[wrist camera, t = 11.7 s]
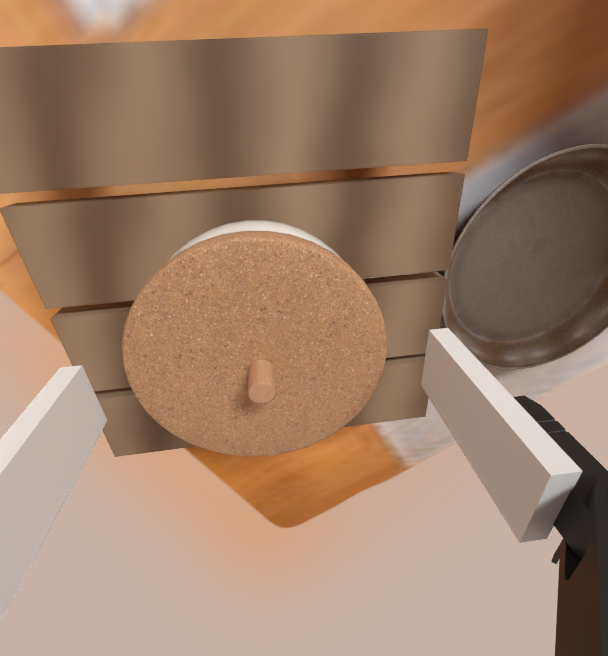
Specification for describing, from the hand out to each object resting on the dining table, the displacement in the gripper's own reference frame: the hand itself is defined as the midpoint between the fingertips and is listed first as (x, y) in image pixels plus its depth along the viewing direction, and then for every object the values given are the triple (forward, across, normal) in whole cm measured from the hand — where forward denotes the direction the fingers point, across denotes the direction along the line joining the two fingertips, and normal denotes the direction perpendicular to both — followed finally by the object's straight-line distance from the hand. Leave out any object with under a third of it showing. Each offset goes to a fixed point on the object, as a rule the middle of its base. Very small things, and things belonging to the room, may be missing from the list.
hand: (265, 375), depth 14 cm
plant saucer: (+19, -26, +4) cm, 32 cm away
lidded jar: (+9, 0, 0) cm, 9 cm away
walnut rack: (+18, 0, 0) cm, 18 cm away
